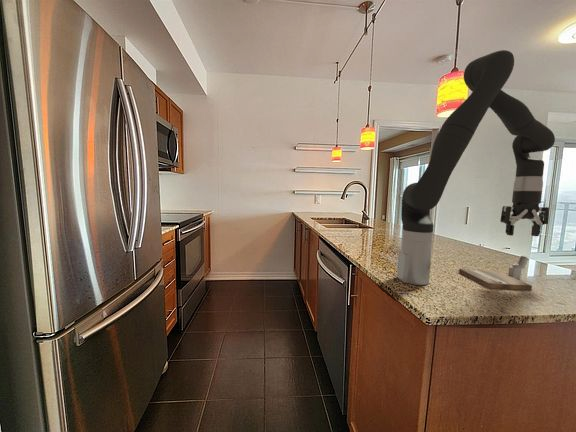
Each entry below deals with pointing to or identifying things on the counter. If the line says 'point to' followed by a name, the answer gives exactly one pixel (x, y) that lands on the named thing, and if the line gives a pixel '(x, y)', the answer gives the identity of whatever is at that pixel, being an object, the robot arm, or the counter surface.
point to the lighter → (517, 268)
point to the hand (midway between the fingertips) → (522, 235)
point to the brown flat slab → (495, 279)
